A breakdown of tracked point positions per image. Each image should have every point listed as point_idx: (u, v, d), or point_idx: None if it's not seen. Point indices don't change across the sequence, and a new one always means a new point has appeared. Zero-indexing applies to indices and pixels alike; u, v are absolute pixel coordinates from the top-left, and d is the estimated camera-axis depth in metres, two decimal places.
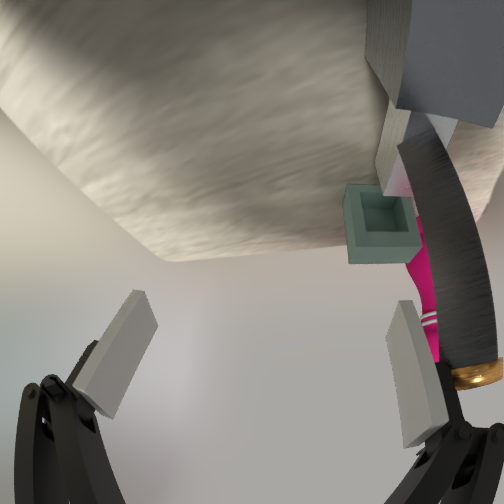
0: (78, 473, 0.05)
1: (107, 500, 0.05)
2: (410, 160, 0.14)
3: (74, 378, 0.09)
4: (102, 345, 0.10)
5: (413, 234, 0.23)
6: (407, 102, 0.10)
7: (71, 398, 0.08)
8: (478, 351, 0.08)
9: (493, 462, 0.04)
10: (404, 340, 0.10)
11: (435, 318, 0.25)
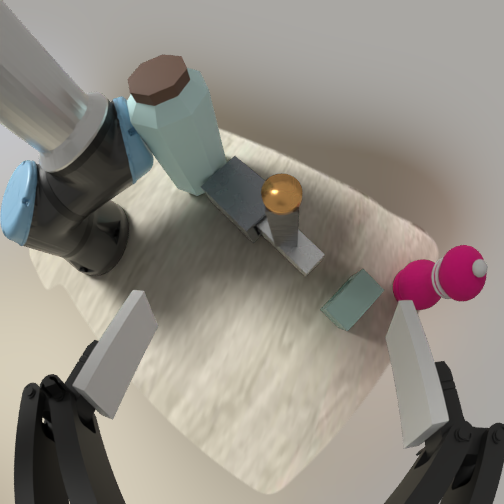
0: (78, 473, 0.05)
1: (107, 500, 0.05)
2: None
3: (74, 378, 0.09)
4: (102, 345, 0.10)
5: (356, 274, 0.34)
6: (246, 225, 0.37)
7: (71, 398, 0.08)
8: None
9: (493, 462, 0.04)
10: (405, 340, 0.10)
11: (435, 275, 0.26)
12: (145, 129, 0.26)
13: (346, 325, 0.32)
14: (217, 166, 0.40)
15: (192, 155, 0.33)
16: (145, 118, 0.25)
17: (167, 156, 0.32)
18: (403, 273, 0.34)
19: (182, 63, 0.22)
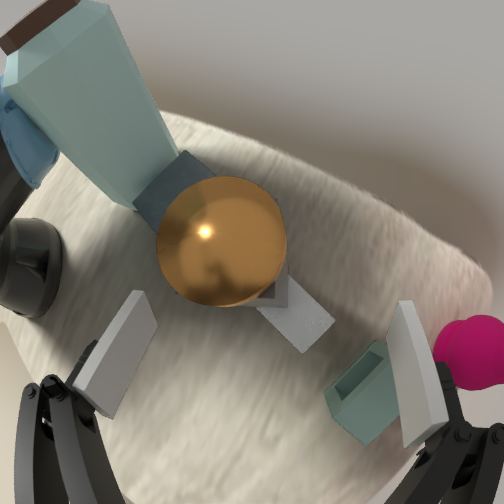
0: (78, 473, 0.05)
1: (107, 500, 0.05)
2: None
3: (74, 378, 0.09)
4: (102, 345, 0.10)
5: None
6: None
7: (71, 398, 0.08)
8: None
9: (493, 462, 0.04)
10: (404, 340, 0.10)
11: None
12: (14, 92, 0.10)
13: (364, 439, 0.15)
14: (154, 159, 0.24)
15: (93, 132, 0.16)
16: (10, 73, 0.09)
17: (60, 138, 0.16)
18: (457, 340, 0.18)
19: None
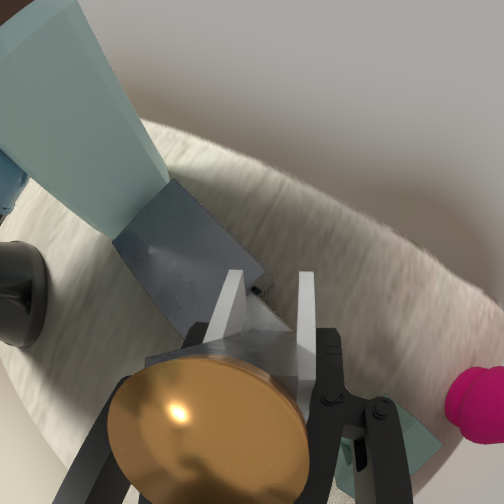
0: None
1: None
2: None
3: None
4: (217, 323, 0.11)
5: (402, 421, 0.14)
6: None
7: None
8: None
9: (386, 439, 0.06)
10: None
11: None
12: None
13: None
14: (135, 185, 0.20)
15: (55, 156, 0.13)
16: None
17: (21, 163, 0.12)
18: (472, 397, 0.14)
19: None
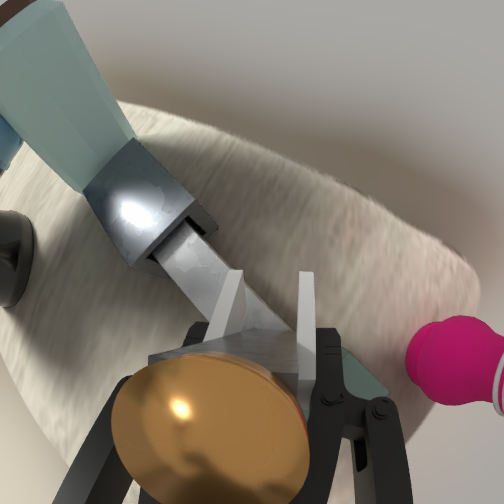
0: None
1: None
2: None
3: None
4: (217, 323, 0.11)
5: None
6: (131, 256, 0.19)
7: None
8: None
9: (386, 439, 0.06)
10: None
11: None
12: None
13: None
14: (103, 144, 0.22)
15: (41, 116, 0.15)
16: None
17: (15, 123, 0.14)
18: (429, 345, 0.16)
19: None
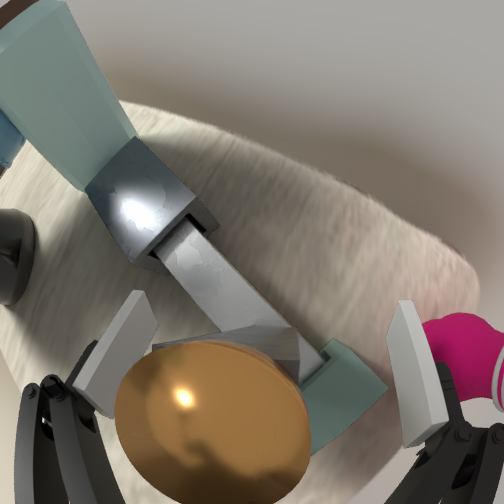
0: (78, 473, 0.05)
1: (107, 500, 0.05)
2: None
3: (74, 378, 0.09)
4: (102, 345, 0.10)
5: (336, 354, 0.16)
6: (132, 253, 0.19)
7: (71, 398, 0.08)
8: None
9: (493, 462, 0.04)
10: (404, 340, 0.10)
11: (503, 376, 0.08)
12: None
13: None
14: (105, 142, 0.22)
15: (44, 114, 0.15)
16: None
17: (18, 122, 0.14)
18: (428, 342, 0.16)
19: None
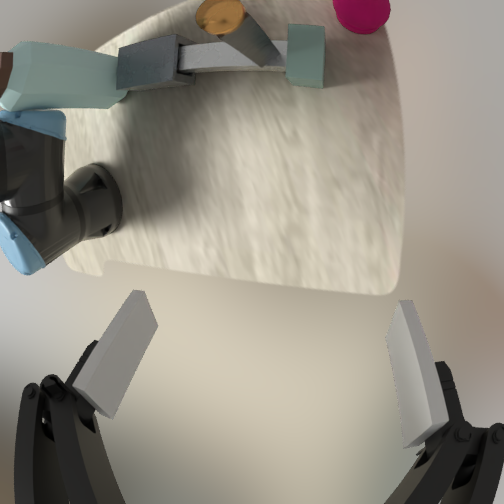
0: (78, 473, 0.05)
1: (107, 500, 0.05)
2: None
3: (74, 378, 0.09)
4: (102, 345, 0.10)
5: None
6: (169, 77, 0.29)
7: (71, 398, 0.08)
8: None
9: (493, 462, 0.04)
10: (404, 340, 0.10)
11: None
12: (20, 103, 0.19)
13: (316, 76, 0.24)
14: (109, 66, 0.29)
15: (72, 79, 0.24)
16: (11, 99, 0.18)
17: (58, 98, 0.24)
18: (334, 5, 0.21)
19: None
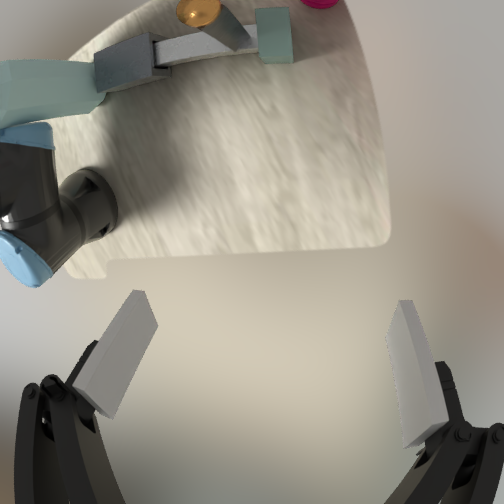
0: (78, 473, 0.05)
1: (107, 500, 0.05)
2: None
3: (74, 378, 0.09)
4: (102, 345, 0.10)
5: None
6: (148, 72, 0.29)
7: (71, 398, 0.08)
8: None
9: (493, 462, 0.04)
10: (405, 340, 0.10)
11: None
12: (5, 120, 0.19)
13: (287, 52, 0.25)
14: (85, 72, 0.28)
15: (52, 89, 0.23)
16: None
17: (42, 109, 0.24)
18: None
19: None
